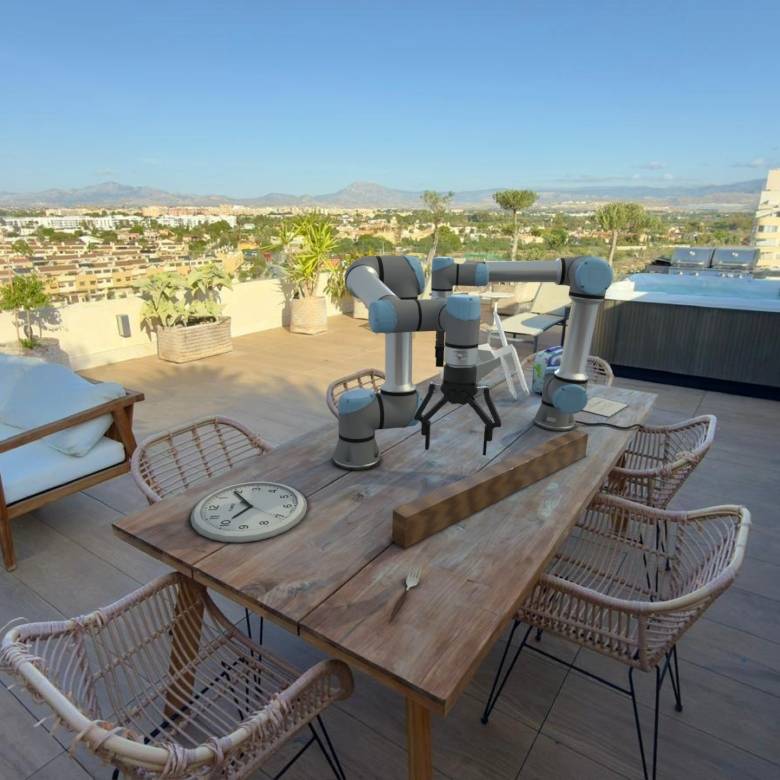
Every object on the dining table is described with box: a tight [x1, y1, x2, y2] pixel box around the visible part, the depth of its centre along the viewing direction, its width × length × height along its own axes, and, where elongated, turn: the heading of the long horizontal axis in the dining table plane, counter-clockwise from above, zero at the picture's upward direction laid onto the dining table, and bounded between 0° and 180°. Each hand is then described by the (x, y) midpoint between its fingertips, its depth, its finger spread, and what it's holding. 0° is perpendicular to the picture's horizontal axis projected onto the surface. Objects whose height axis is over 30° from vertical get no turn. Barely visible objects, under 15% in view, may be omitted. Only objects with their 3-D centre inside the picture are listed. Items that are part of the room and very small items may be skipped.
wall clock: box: [190, 481, 308, 544], centre depth 139 cm, size 30×2×30 cm
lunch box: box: [531, 345, 564, 394], centre depth 244 cm, size 26×11×21 cm, turn 135°
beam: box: [391, 428, 589, 549], centre depth 151 cm, size 83×5×8 cm, turn 131°
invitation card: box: [582, 396, 629, 418], centre depth 226 cm, size 21×1×15 cm
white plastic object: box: [438, 310, 531, 400], centre depth 245 cm, size 37×45×31 cm
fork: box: [391, 565, 422, 620], centre depth 108 cm, size 3×16×2 cm, turn 160°
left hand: (455, 450), depth 125 cm, fingers open, 13 cm apart
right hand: (439, 362), depth 188 cm, fingers open, 13 cm apart
